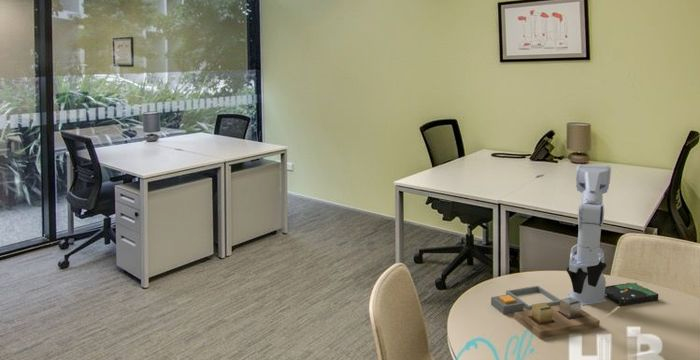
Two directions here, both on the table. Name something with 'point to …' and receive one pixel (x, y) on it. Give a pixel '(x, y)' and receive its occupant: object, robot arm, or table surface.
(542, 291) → the tray
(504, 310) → the button housing
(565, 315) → the block
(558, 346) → the table surface
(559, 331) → the wooden pocket board
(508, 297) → the button
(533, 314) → the block
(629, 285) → the disk drive
